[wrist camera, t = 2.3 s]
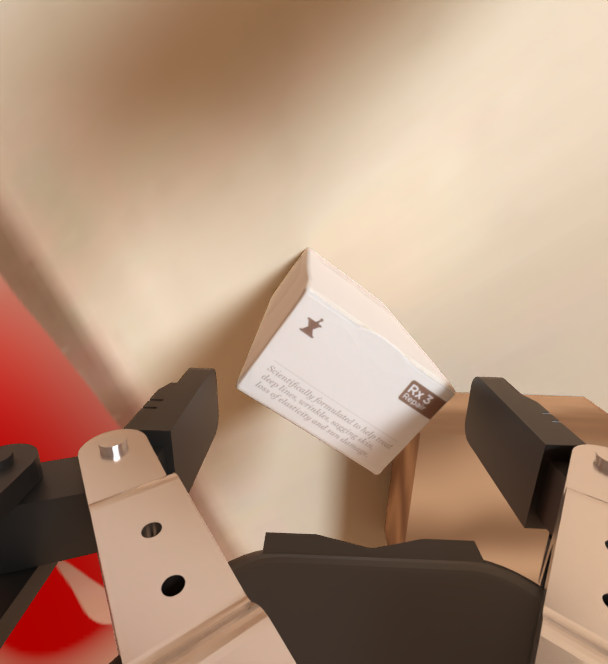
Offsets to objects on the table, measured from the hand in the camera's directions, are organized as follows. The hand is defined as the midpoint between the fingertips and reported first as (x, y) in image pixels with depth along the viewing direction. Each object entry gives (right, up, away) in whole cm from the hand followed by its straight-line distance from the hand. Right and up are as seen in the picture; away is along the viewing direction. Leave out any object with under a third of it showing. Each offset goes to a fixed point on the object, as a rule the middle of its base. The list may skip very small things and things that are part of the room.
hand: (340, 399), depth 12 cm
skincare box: (0, +4, +12) cm, 12 cm away
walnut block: (+11, -8, +15) cm, 20 cm away
